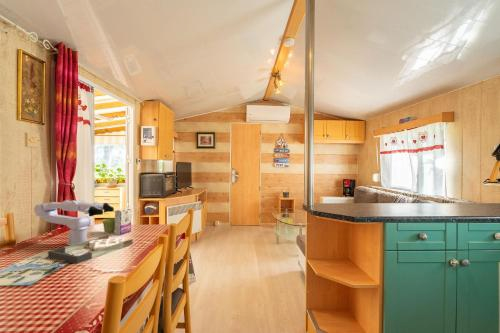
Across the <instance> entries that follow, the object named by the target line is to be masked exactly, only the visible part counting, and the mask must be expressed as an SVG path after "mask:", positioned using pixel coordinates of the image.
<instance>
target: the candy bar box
mask: <svg viewBox="0 0 500 333" xmlns="http://www.w3.org/2000/svg"><path fill="white" fill-rule="evenodd" d="M114 219H115V231H114V235H115V236H123V235H125V234H128V233H130V232H131V231H132V208H122V209H118V210H114Z"/></svg>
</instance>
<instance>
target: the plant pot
mask: <svg viewBox="0 0 500 333" xmlns="http://www.w3.org/2000/svg"><path fill="white" fill-rule="evenodd" d="M102 224H103V232H104V233H105V234H112V233H115V218H104V219H102Z"/></svg>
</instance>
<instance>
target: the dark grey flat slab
mask: <svg viewBox="0 0 500 333" xmlns="http://www.w3.org/2000/svg"><path fill="white" fill-rule="evenodd" d="M65 247H66V246H63V247H60V248H56V249H52V250H48V251H47V258H49V257H50V259H53V258H54V260H58V259H59V260H58V261H62V260H65V261H64V262H67V261H69V262H68V263H71V262H72V264H80V263H83V262H86V261H89V260H92V259H93V258H92V253H91V252H92V251H90V252H87V253H84V254H81V255H77V256H74V255H75V254H72V255H70V254H71V253H68V252H67V253H65Z"/></svg>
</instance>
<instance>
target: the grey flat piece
mask: <svg viewBox="0 0 500 333" xmlns="http://www.w3.org/2000/svg"><path fill="white" fill-rule="evenodd" d="M109 236H110V235H109V234H108V235H105V236H100V237H96V238H93V239H87V241H85V242H81V243H77V244H74V245H68V246H64V247H65V253H67V254H68V253H70V252H74V251H78V250H81V249H85V248H87V247H89V242H90V241H93V240H100V239H110V238H109ZM133 241H134V240H133V239H128V240H127V239H126V240H124V242H121V243H118V244H115V245H112V246H108V247H105V248H102V249H99V250H92V251H90V252H91V253H92V259H95V258H97V257H101V256H103V255H106V254H108V253H112V252H115V251H118V250H120V249H124V248H127V247H129V246H132V244H133Z"/></svg>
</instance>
